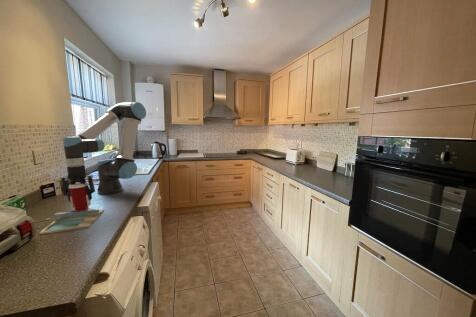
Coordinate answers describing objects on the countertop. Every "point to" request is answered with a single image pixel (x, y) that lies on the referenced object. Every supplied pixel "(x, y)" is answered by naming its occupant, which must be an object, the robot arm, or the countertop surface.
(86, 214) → the rail
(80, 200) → the coffee cup
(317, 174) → the countertop surface
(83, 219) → the board
